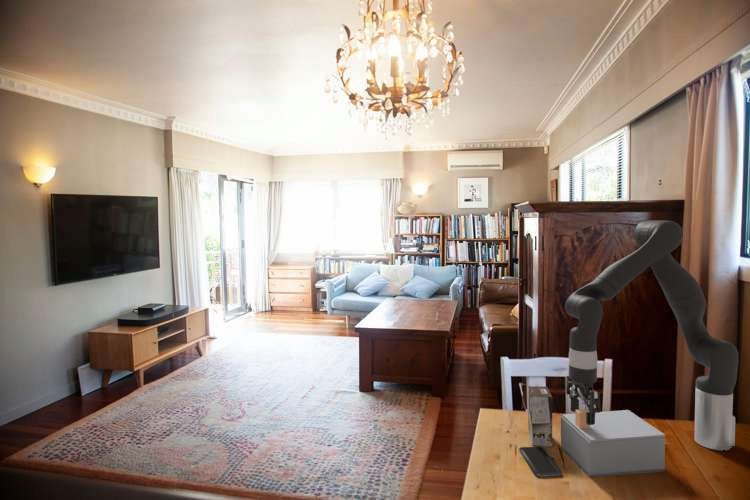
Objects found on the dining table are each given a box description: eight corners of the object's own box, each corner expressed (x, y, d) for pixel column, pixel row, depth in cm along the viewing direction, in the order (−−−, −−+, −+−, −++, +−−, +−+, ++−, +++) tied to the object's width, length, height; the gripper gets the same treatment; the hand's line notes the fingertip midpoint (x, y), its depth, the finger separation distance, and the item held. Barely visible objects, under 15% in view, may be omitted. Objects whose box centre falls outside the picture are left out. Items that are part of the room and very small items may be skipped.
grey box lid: (628, 411, 140) (628, 396, 140) (665, 436, 124) (665, 419, 124) (562, 416, 139) (562, 400, 138) (590, 442, 123) (590, 424, 122)
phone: (536, 475, 124) (518, 447, 139) (536, 479, 124) (518, 450, 139) (564, 474, 124) (543, 446, 139) (564, 478, 124) (543, 449, 139)
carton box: (627, 442, 141) (628, 412, 140) (664, 471, 125) (665, 437, 124) (560, 447, 139) (560, 416, 139) (589, 477, 123) (589, 442, 123)
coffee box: (553, 447, 140) (553, 397, 139) (531, 445, 141) (531, 396, 140) (547, 433, 149) (547, 386, 148) (527, 431, 150) (527, 385, 149)
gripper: (609, 371, 122) (609, 428, 124) (581, 355, 137) (581, 406, 138) (583, 372, 122) (583, 430, 123) (558, 356, 136) (558, 408, 137)
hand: (582, 417), depth 131 cm, fingers open, 8 cm apart
